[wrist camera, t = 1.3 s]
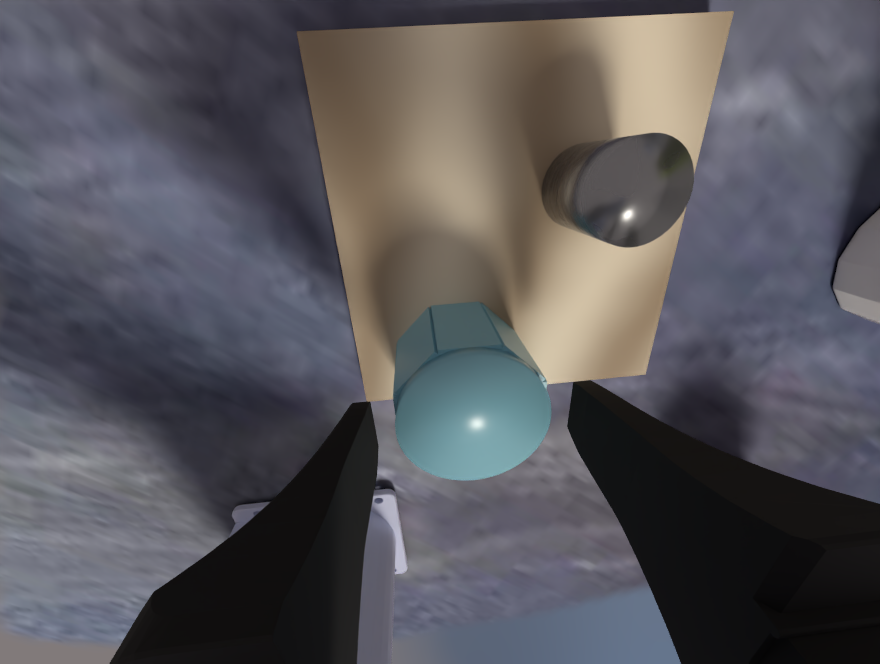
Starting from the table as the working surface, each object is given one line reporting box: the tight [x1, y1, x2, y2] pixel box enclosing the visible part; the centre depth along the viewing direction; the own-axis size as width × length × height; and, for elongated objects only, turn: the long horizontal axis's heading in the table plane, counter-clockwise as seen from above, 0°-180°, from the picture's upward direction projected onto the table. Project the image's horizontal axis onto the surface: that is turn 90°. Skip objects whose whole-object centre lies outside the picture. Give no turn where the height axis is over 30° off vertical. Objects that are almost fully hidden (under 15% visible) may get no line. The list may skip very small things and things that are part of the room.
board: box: [297, 11, 734, 402], centre depth 14 cm, size 14×14×1 cm
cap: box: [393, 302, 551, 480], centre depth 14 cm, size 5×5×5 cm
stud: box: [542, 133, 694, 248], centre depth 11 cm, size 3×3×4 cm
